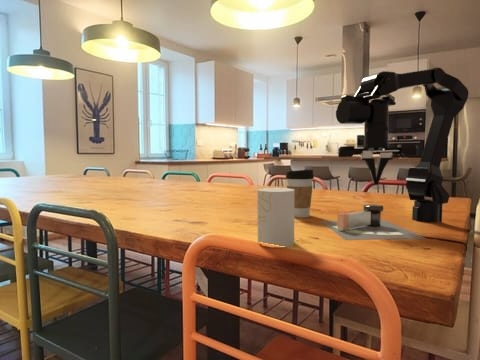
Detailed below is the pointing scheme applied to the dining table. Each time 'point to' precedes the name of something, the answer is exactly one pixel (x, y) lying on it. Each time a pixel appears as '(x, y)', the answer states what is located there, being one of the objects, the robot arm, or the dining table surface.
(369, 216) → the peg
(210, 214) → the dining table surface
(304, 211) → the coffee cup
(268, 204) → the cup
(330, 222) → the dial board
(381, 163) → the robot arm
